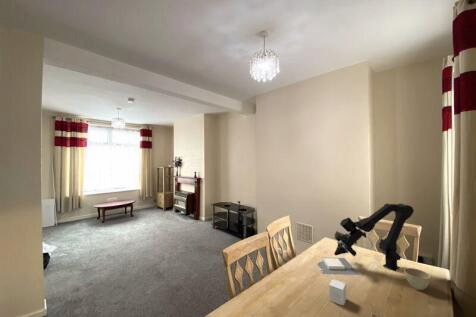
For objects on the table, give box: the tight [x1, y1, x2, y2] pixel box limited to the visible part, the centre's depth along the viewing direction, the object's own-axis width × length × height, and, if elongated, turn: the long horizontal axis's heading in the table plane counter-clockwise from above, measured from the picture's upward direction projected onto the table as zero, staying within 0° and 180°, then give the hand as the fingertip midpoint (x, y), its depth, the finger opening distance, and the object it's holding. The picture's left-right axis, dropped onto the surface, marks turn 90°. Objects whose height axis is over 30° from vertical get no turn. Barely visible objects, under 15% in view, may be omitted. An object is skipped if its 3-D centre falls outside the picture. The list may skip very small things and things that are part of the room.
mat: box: [316, 257, 360, 276], centre depth 124 cm, size 20×20×1 cm
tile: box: [322, 257, 345, 270], centre depth 124 cm, size 2×10×9 cm
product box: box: [328, 278, 347, 307], centre depth 94 cm, size 6×6×7 cm
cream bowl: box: [403, 267, 431, 291], centre depth 102 cm, size 10×10×7 cm
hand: (334, 254), depth 124 cm, fingers closed
